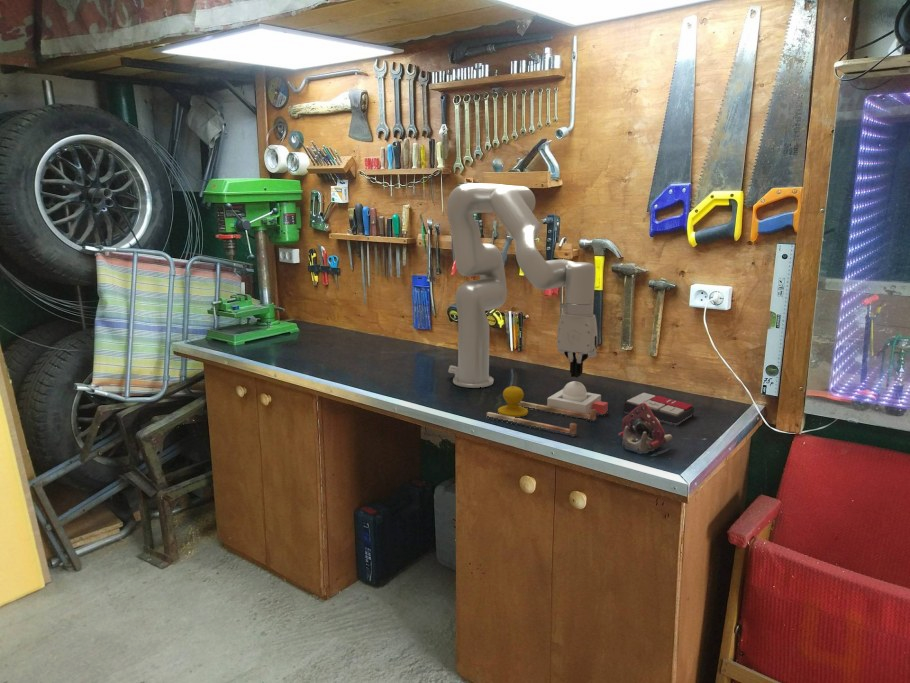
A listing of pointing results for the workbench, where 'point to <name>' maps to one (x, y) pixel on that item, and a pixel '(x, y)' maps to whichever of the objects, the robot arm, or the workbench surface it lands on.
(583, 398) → the dome
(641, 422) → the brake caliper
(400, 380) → the workbench surface
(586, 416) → the wooden brackets
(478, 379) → the robot arm
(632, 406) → the grey red flat block
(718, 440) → the workbench surface
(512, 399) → the doorknob
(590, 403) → the dome base
